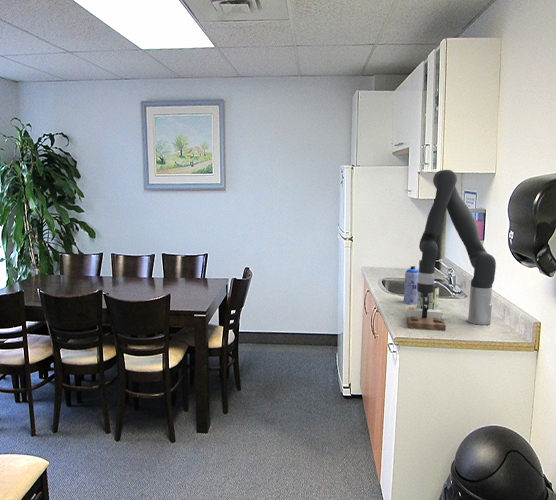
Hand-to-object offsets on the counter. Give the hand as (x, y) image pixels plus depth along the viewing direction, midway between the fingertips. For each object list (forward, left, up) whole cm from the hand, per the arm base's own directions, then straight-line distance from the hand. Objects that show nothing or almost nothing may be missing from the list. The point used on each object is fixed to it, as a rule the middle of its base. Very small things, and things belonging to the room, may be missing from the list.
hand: (423, 315), depth 228 cm
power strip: (0, 0, -3) cm, 3 cm away
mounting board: (0, +9, -3) cm, 9 cm away
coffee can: (-3, -17, -3) cm, 18 cm away
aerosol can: (+4, -32, -3) cm, 32 cm away
